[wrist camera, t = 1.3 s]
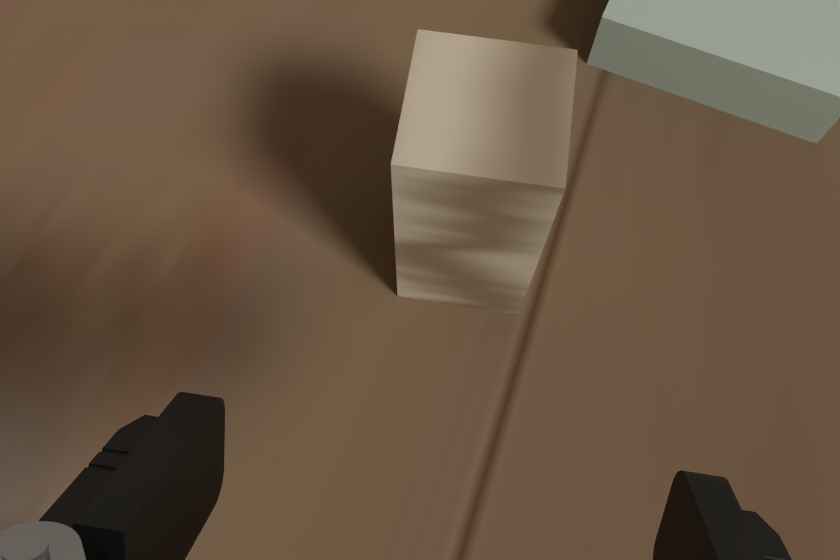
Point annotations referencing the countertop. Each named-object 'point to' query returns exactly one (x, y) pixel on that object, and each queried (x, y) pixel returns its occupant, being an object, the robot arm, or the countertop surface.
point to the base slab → (732, 56)
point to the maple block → (479, 167)
